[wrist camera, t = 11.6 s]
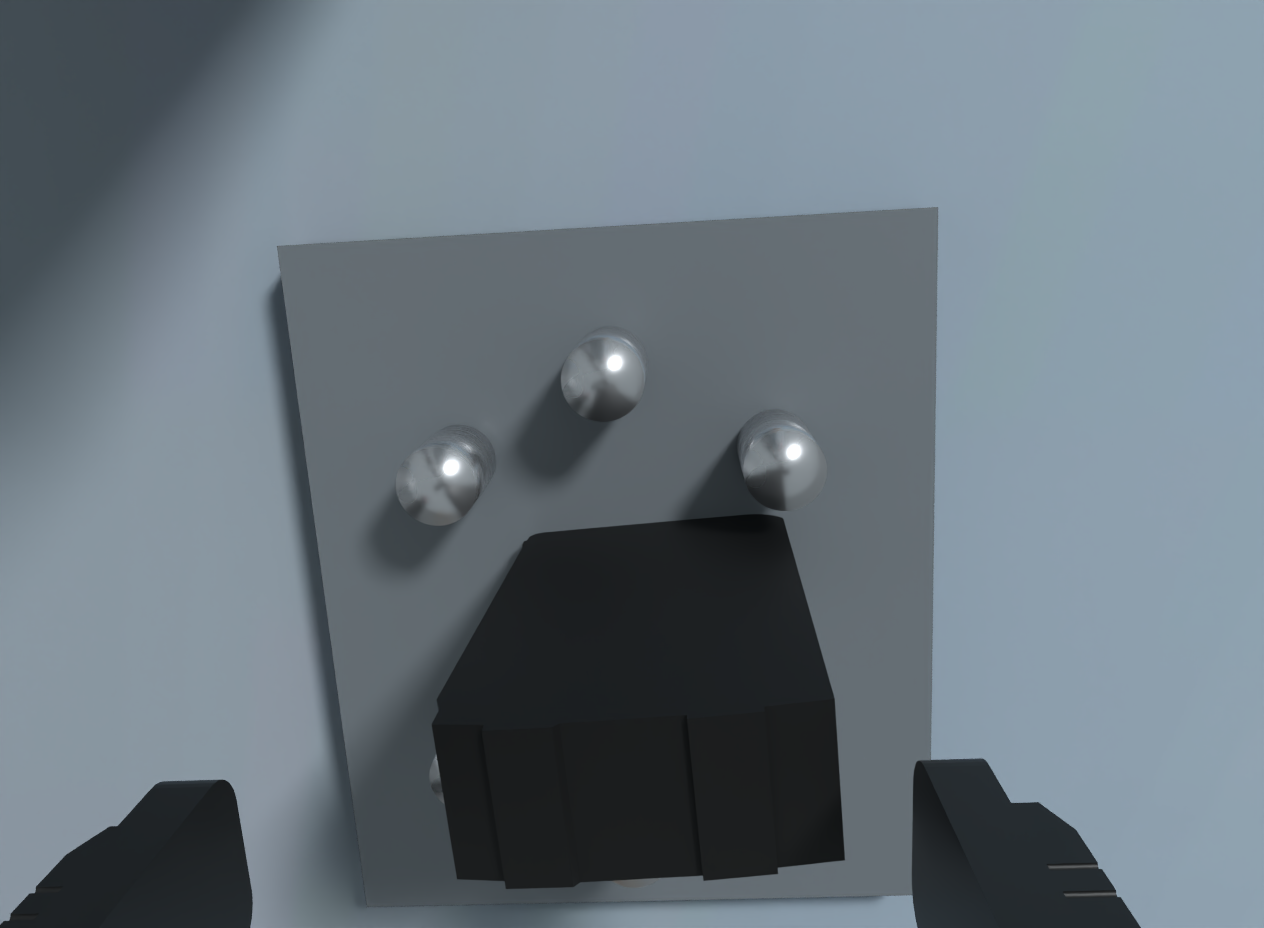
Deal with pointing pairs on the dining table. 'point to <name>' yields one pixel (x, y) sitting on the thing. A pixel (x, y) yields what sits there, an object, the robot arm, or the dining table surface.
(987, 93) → the dining table surface
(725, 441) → the pin tray
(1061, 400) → the dining table surface
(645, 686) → the ink cartridge
